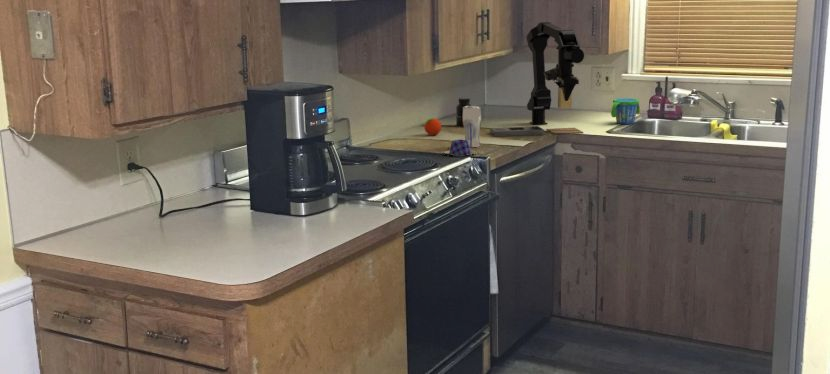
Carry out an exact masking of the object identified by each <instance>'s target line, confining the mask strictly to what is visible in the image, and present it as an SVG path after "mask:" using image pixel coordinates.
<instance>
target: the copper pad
mask: <svg viewBox="0 0 830 374" xmlns="http://www.w3.org/2000/svg"><path fill="white" fill-rule="evenodd" d="M546 131H547V132H550V133H551V134H553V135H555V136H556V135H573V134H574V135H575V134H584V131H582V130H581V129H578V128H576V127H561V128H560V127H558V128H557V127H556V128H546Z"/></svg>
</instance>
